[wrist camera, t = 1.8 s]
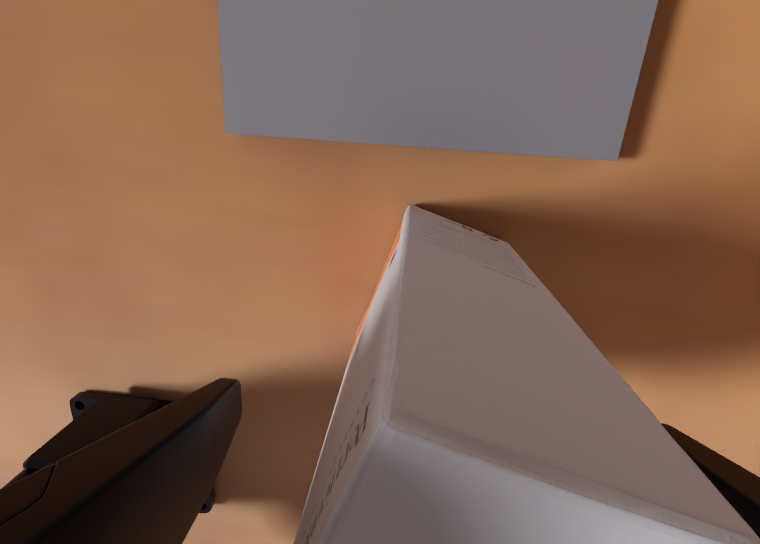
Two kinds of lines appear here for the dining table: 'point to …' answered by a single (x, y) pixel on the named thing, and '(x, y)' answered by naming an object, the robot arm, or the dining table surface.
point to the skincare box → (494, 418)
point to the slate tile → (436, 72)
